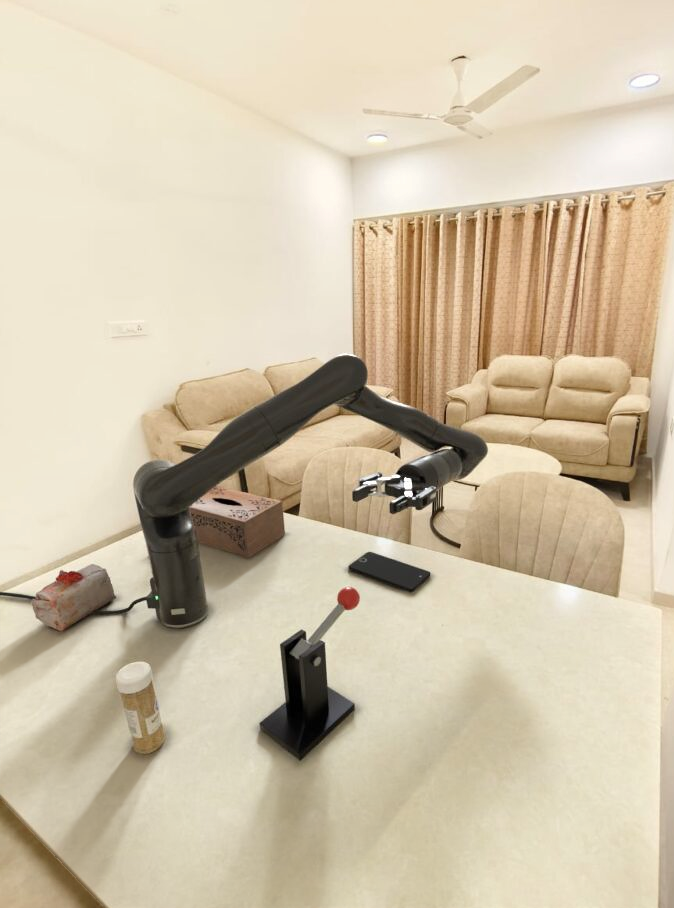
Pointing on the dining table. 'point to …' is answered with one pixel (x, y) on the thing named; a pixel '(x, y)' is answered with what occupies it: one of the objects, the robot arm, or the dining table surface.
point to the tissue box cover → (237, 520)
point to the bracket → (305, 701)
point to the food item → (73, 596)
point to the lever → (328, 620)
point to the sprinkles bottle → (141, 706)
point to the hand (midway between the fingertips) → (371, 502)
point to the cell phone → (390, 571)
